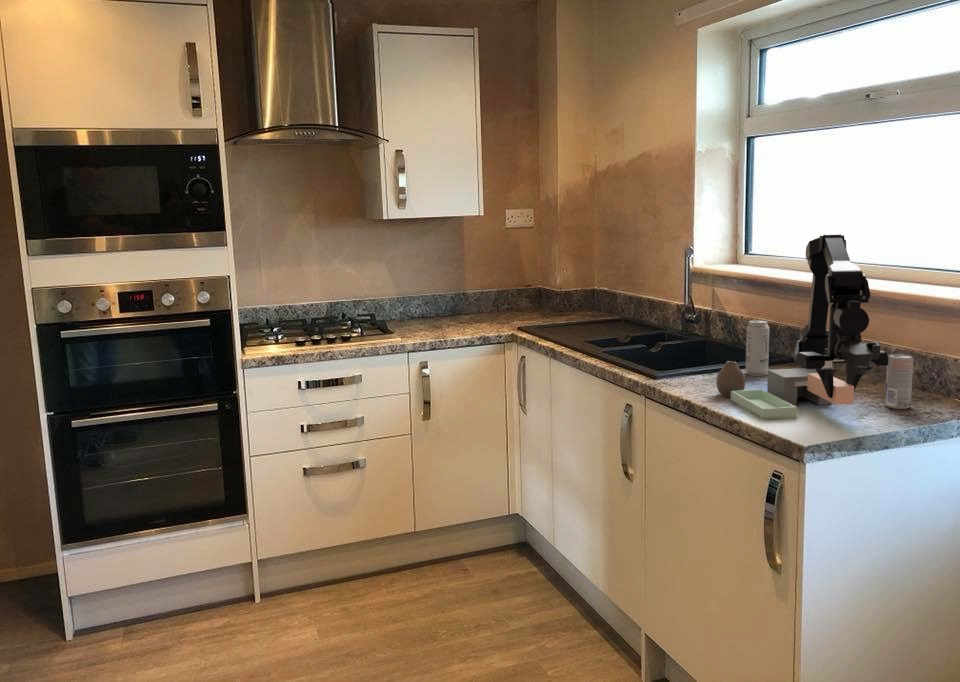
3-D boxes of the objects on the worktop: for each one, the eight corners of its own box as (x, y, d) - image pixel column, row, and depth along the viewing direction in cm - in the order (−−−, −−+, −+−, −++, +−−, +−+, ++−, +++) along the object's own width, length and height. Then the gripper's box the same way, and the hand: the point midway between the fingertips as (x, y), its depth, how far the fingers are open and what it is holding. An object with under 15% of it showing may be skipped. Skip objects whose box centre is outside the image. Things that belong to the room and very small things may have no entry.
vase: (710, 394, 205) (711, 361, 203) (732, 391, 207) (732, 358, 206) (728, 400, 198) (729, 365, 197) (750, 397, 201) (751, 362, 200)
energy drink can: (765, 377, 223) (766, 323, 220) (743, 375, 226) (744, 322, 223) (770, 372, 228) (771, 320, 225) (748, 371, 231) (749, 319, 228)
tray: (730, 400, 198) (730, 390, 197) (761, 399, 198) (762, 389, 198) (762, 419, 180) (762, 408, 180) (796, 417, 181) (796, 407, 180)
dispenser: (767, 397, 200) (767, 369, 199) (813, 394, 201) (814, 367, 200) (784, 406, 191) (785, 377, 189) (833, 404, 192) (834, 375, 190)
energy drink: (902, 403, 190) (905, 353, 188) (915, 408, 185) (918, 357, 183) (880, 404, 190) (882, 354, 188) (892, 409, 185) (895, 358, 183)
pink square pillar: (807, 390, 189) (807, 373, 188) (823, 389, 189) (824, 372, 188) (835, 404, 175) (836, 386, 174) (853, 403, 175) (854, 386, 174)
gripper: (820, 334, 166) (817, 408, 168) (906, 331, 167) (902, 403, 170) (795, 327, 177) (792, 396, 179) (876, 323, 178) (872, 391, 181)
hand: (839, 397), depth 177 cm, fingers closed on pink square pillar, 4 cm apart
